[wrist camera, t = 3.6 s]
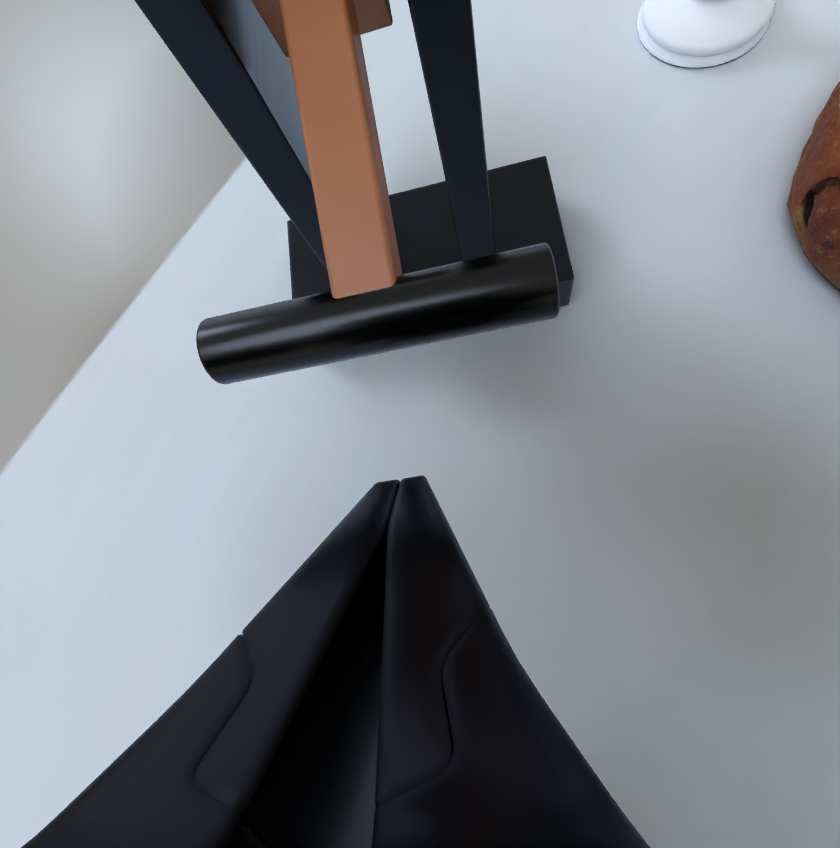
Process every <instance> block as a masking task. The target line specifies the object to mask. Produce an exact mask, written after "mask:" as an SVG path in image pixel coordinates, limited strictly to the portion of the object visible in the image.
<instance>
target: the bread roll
mask: <svg viewBox="0 0 840 848" xmlns="http://www.w3.org/2000/svg"><path fill="white" fill-rule="evenodd" d="M787 205H788V208H789V212H790V216H791V219H792V222H793V226H794V229H795V232H796V235H797V237H798V240H799V242H800V245H801V247H802V249H803V252H804V254H805V255H806V257H807V258H808V259H809V260H810V261H811V262H812V264H813V265H814V266H815V267H816V268H817V270H818V271H819V272H820V273H821V274H822V275H824V276H825V277H826V278H827V279H828V280H829V281H830V282H831V283H832V284H833V285H834V286H835V287H837V288H838V289H839V290H840V82H839V83H838V84H837V86H836V87H835V89H834V90H833V92H832V94H831V97H830V98H829V100H828V102H827V104H826V105H825V107H824V109H823V110H822V112H821V113H820V115H819V117H818V118H817V120H816V122H815V125H814V129H813V132H812V135H811V137H810V138H809V140H808V141H807V143H806V145H805V147H804V149H803V152H802V155H801V158H800V161H799V165H798V167H797V170H796V172H795V174H794V177H793V182H792V187H791V191H790V195H789V199H788V203H787Z"/></svg>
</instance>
